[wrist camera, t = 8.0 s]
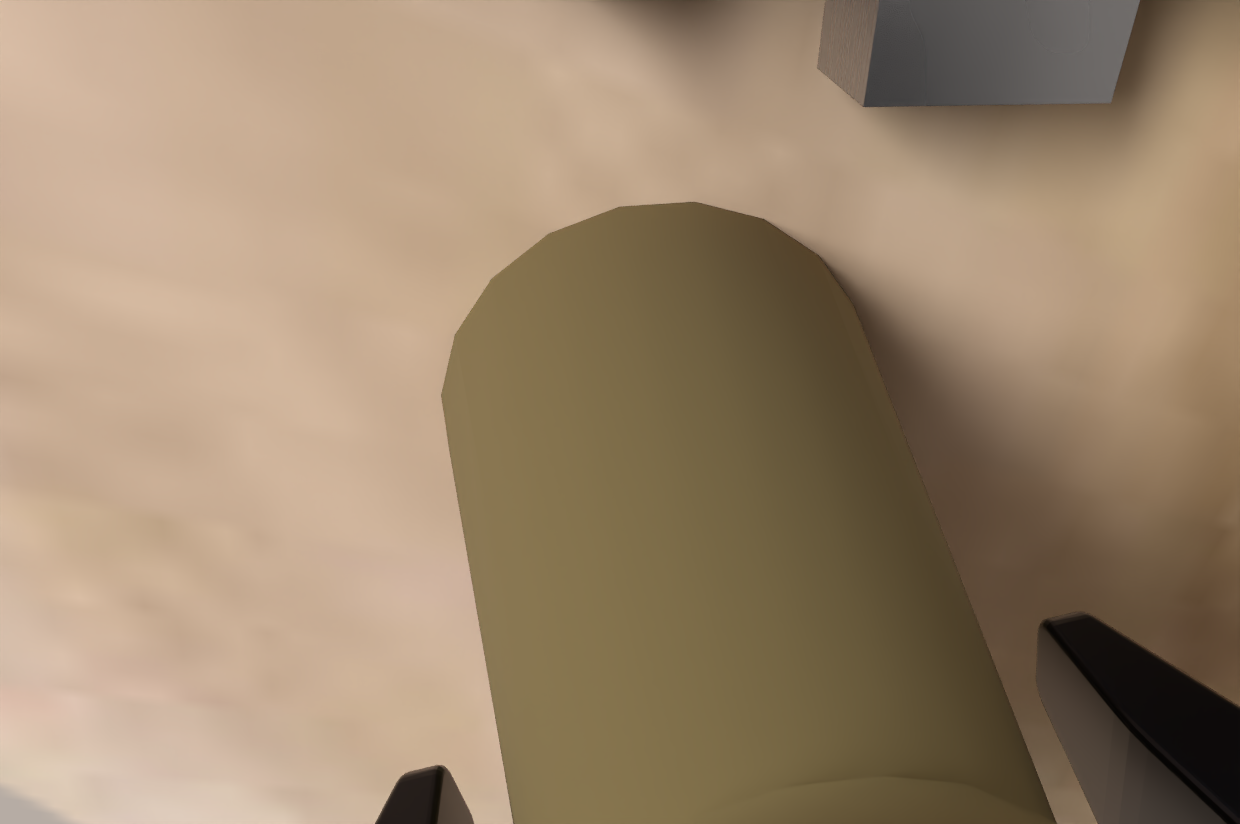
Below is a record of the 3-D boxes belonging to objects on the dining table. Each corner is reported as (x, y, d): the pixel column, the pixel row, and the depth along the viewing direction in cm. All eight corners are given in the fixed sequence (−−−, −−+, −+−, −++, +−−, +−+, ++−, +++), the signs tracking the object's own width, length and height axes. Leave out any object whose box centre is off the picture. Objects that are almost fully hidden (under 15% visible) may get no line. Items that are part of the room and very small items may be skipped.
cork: (949, 300, 13) (1980, 1434, 4) (738, 606, 16) (1075, 1707, 7) (545, 123, 11) (787, 1517, 2) (381, 505, 14) (185, 1847, 5)
